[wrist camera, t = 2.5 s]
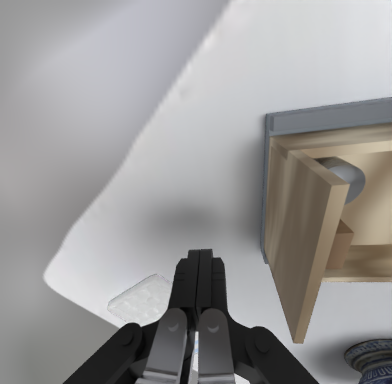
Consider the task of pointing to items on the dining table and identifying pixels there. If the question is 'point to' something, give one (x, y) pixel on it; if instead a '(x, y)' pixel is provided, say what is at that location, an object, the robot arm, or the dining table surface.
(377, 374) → the decorative vase
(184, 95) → the dining table surface
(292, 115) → the rail board
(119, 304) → the white flat textured slab
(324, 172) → the wooden drawer
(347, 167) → the grey ball
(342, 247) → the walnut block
